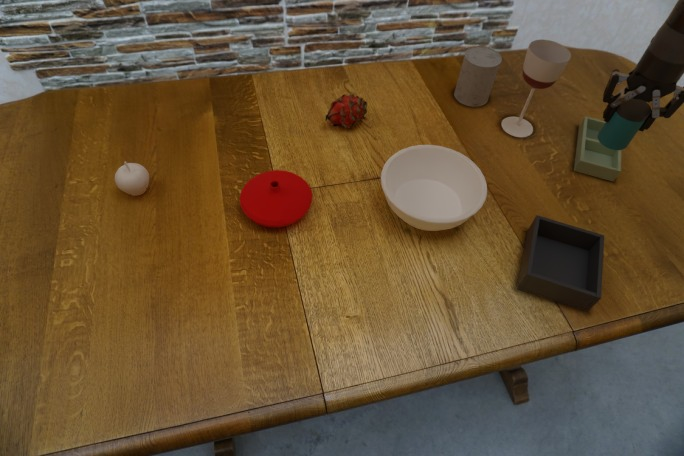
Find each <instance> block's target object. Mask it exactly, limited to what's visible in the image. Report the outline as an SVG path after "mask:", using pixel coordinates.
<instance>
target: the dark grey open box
mask: <svg viewBox="0 0 684 456" xmlns="http://www.w3.org/2000/svg"><path fill="white" fill-rule="evenodd" d="M531 222H532V223H531V224H530V226H529V227H528V229H527V231H526V236H525V240H524V241H525V242H524V247H523V252H522V258H521V262H520V268H519V274H518V279H517V285H516V290H520V291H522V292H524V293H525V292H526V293H529V294H531V295H535V296H538V297H540V298H544V299H547V300H550V301H552V302H556V303H559V304H562V305H564V306H567V307H571V308H573V309H577V310H579V311H582V312H585V313H588V312H589V311H590V310H591V309H592V308H593V307H594V306H596V304H597V303H598V302H599V301H600V300H601V299H602V288H603V287H602V286H603V269H604V268H603V267H604V248H605V235H604V234H601V233H598V232H595V231H591V230H588V229H585V228H581V227H579V226H574V225H571V224H568V223H564V222H561V221H558V220H554V219H552V218H548V217H545V216H542V215H537V214H536V215H535V217H534V218H533V220H532V221H531Z"/></svg>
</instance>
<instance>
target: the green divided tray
mask: <svg viewBox="0 0 684 456" xmlns="http://www.w3.org/2000/svg"><path fill="white" fill-rule="evenodd" d="M604 124H605V121H604V120H602V119H599V118H596V117H595V118H594V117H592V116H591V117H590V116H586V115H585V116H584V117H583V118H582V120H581V122H580V124H579V126H578V130H577V131H578V132H577V138H576V139H577V140H576V149H575V156H574V157H575V158H574V165H573V171H574V172H577V173H580V174H584V175H587V176H590V177H591V176H592V177H595V178H598V179H602V180H605V181H606V180H607V181H610V182H615V181H616V179H617V178H618V177H619V175H620V174H621V172H622V151H623V150H612V149H609V148H607V147H605V146H603V145H602V144H601V143H600V142H599V140H598V134H599V132H600V130H601V129H602V127H603V125H604Z"/></svg>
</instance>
